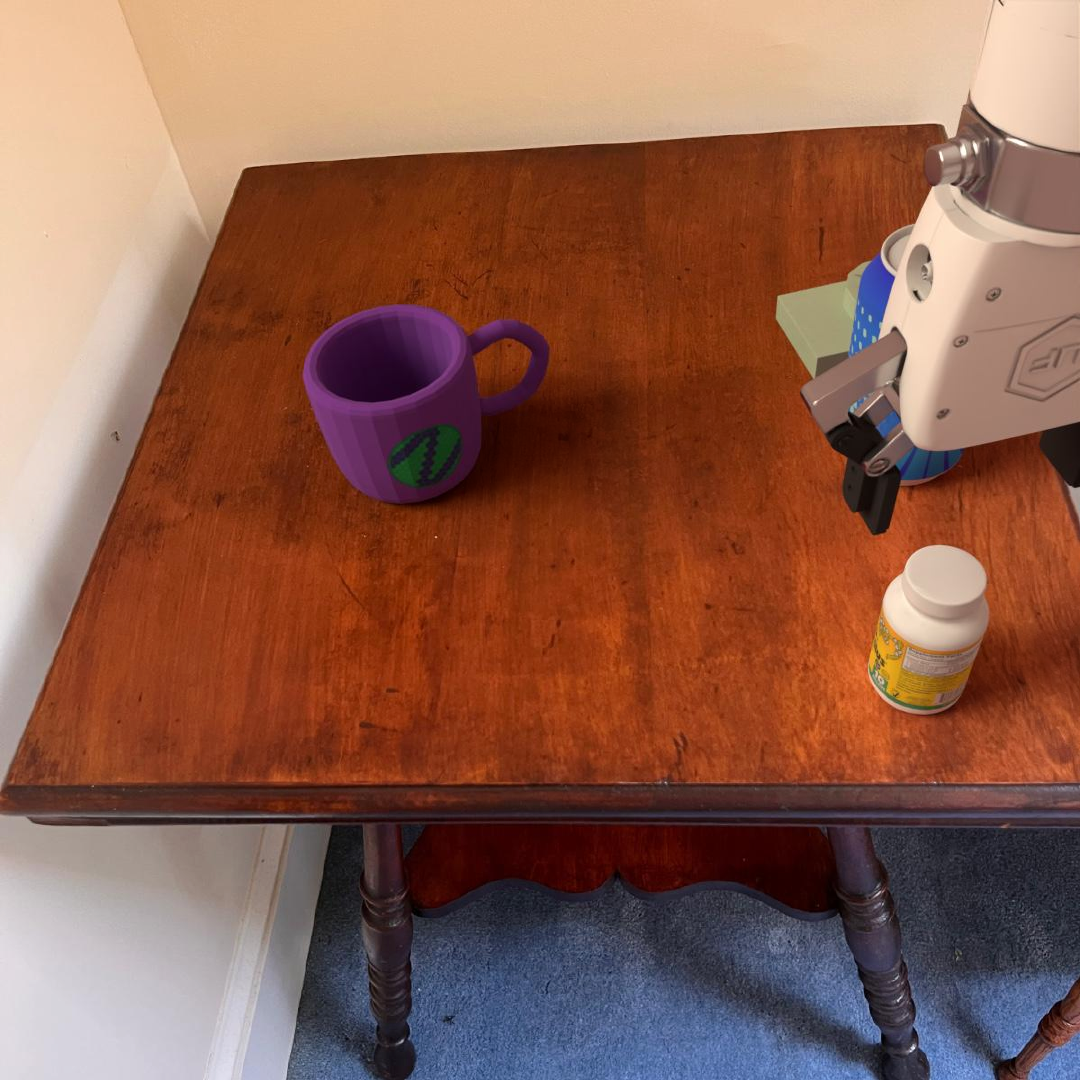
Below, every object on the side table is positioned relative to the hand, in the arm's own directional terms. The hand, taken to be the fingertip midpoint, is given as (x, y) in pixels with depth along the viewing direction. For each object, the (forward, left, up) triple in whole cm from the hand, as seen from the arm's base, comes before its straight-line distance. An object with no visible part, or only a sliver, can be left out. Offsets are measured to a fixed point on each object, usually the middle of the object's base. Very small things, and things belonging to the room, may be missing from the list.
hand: (964, 489), depth 48 cm
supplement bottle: (0, 0, -16) cm, 16 cm away
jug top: (-10, -30, -16) cm, 35 cm away
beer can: (-7, -17, -16) cm, 24 cm away
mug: (+23, -28, -16) cm, 39 cm away
